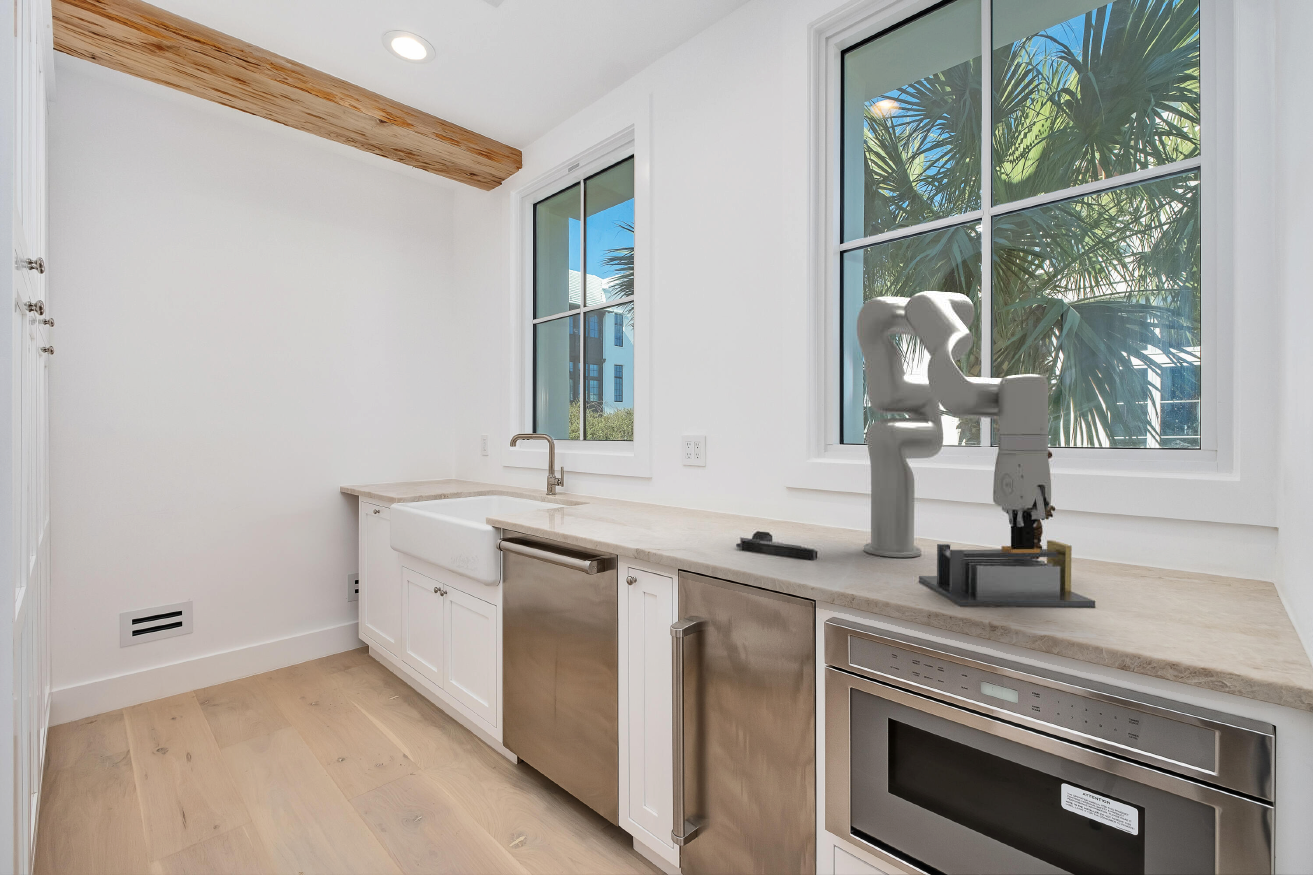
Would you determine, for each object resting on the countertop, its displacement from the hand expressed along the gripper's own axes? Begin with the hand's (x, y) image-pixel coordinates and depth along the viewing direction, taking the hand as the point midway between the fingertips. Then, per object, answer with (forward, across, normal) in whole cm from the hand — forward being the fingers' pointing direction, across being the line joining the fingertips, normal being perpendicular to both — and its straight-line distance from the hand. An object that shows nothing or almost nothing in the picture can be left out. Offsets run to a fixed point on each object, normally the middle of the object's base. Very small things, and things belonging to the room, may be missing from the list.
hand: (1022, 548), depth 105 cm
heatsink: (+8, 0, -4) cm, 9 cm away
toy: (+8, -16, +11) cm, 22 cm away
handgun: (+8, -37, -35) cm, 52 cm away
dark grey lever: (+2, 0, -4) cm, 4 cm away
